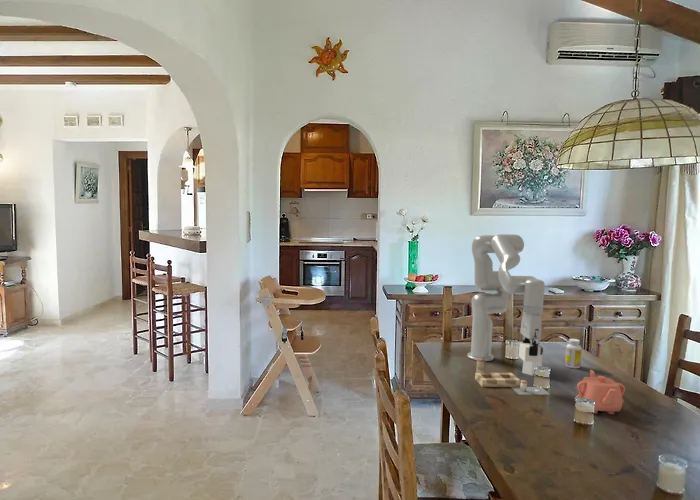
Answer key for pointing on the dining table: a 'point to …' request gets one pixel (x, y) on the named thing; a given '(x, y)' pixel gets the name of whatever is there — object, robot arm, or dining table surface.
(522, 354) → the white cube
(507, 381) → the peg board
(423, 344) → the dining table surface
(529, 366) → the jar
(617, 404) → the teapot
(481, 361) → the peg
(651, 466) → the dining table surface
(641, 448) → the dining table surface
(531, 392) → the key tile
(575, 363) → the supplement bottle
